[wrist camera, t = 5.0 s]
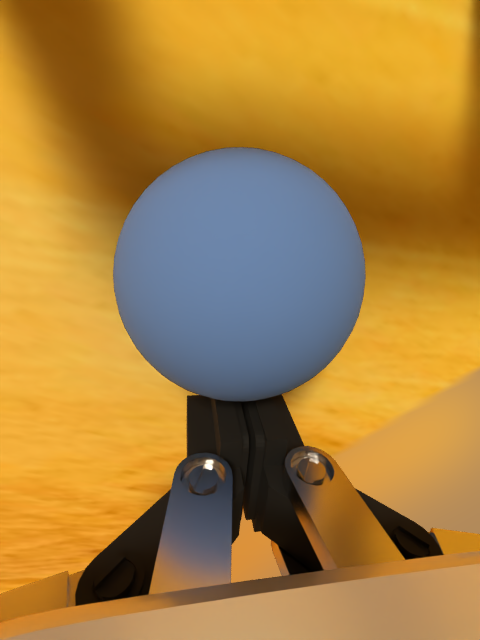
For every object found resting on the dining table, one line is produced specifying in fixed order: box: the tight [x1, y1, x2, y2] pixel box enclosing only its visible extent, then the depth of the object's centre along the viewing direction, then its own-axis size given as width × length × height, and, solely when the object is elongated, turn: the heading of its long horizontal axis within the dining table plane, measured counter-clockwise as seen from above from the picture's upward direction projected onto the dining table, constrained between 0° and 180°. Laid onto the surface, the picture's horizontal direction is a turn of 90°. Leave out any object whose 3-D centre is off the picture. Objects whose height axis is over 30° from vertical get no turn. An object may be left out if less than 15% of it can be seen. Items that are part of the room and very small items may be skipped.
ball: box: [113, 147, 365, 401], centre depth 8 cm, size 6×6×6 cm
